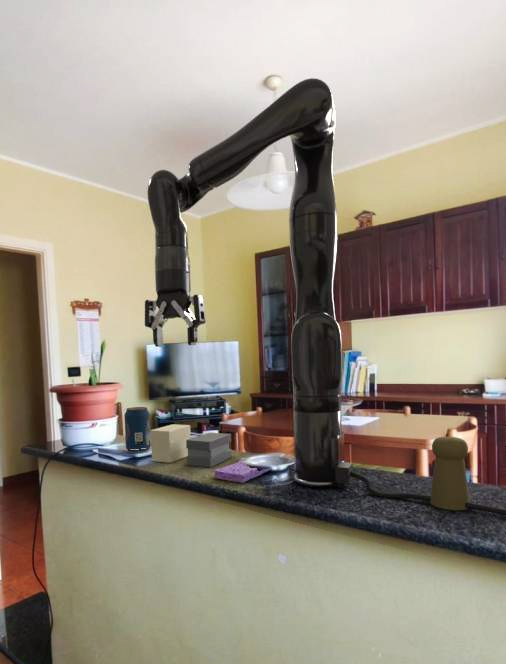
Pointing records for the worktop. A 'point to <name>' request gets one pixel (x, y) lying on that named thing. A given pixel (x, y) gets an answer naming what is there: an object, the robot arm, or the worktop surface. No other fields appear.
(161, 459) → the cream books
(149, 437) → the soda can
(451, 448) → the cork
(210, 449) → the grey books
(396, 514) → the worktop surface
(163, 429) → the pale yellow block
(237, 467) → the sponge
